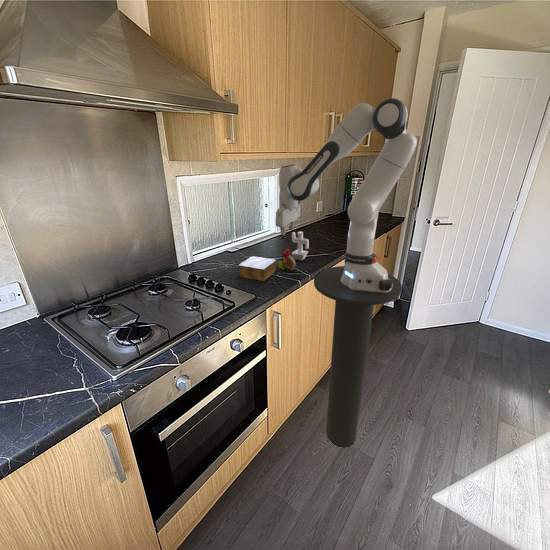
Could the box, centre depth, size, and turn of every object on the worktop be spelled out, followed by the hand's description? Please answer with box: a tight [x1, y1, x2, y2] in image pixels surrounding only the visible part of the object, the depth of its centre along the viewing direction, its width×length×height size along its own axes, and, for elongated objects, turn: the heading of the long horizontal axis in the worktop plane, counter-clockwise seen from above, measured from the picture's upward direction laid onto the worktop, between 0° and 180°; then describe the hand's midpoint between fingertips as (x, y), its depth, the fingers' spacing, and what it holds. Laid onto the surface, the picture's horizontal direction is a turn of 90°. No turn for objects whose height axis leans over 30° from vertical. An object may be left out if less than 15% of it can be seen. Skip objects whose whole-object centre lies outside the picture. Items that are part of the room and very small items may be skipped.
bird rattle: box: [278, 248, 297, 272], centre depth 145 cm, size 6×11×9 cm
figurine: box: [290, 231, 310, 261], centre depth 158 cm, size 7×9×15 cm
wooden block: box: [237, 255, 277, 282], centre depth 141 cm, size 14×14×6 cm
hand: (287, 232), depth 139 cm, fingers open, 8 cm apart
